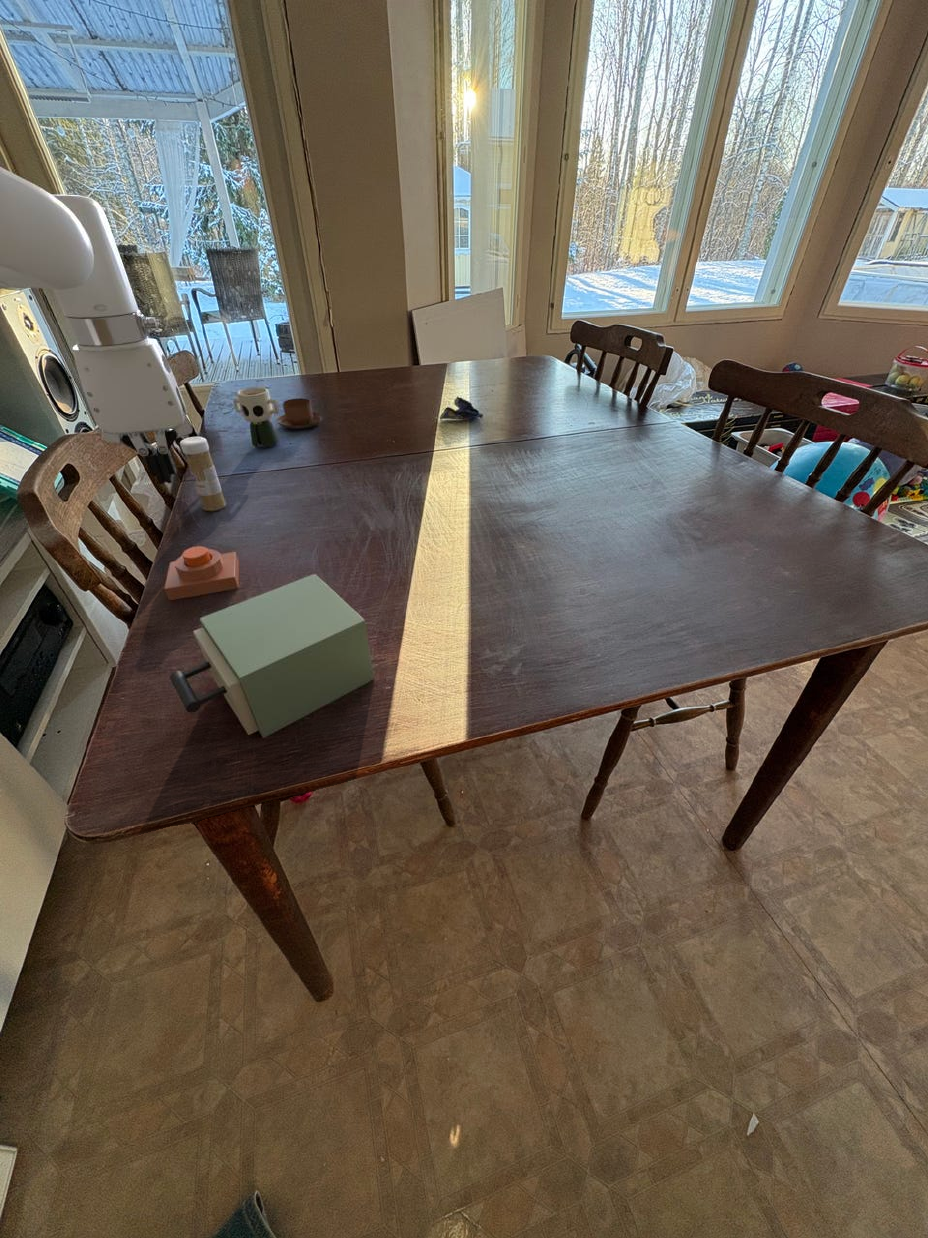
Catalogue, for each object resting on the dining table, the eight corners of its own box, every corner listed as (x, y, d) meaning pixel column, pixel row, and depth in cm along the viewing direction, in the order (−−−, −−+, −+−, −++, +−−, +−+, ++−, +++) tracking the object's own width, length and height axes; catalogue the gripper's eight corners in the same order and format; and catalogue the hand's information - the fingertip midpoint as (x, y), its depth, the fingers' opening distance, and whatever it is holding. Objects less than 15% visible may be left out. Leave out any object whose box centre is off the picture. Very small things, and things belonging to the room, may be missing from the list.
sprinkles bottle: (197, 509, 102) (173, 441, 93) (216, 500, 105) (194, 434, 97) (214, 513, 100) (190, 445, 92) (232, 504, 103) (211, 438, 95)
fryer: (263, 738, 57) (239, 678, 51) (223, 677, 65) (199, 618, 59) (374, 679, 65) (365, 620, 59) (327, 630, 72) (314, 573, 66)
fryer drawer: (210, 755, 55) (185, 706, 50) (178, 695, 61) (153, 646, 57) (355, 680, 63) (346, 631, 58) (313, 634, 70) (301, 587, 65)
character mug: (239, 449, 127) (223, 394, 119) (251, 439, 133) (236, 386, 124) (281, 451, 126) (269, 395, 118) (291, 440, 132) (280, 387, 124)
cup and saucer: (283, 419, 146) (278, 396, 142) (326, 418, 146) (322, 395, 142) (274, 433, 136) (268, 409, 133) (319, 432, 137) (315, 408, 133)
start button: (185, 569, 78) (181, 559, 77) (187, 557, 81) (183, 548, 80) (210, 565, 79) (206, 555, 78) (211, 553, 82) (208, 544, 80)
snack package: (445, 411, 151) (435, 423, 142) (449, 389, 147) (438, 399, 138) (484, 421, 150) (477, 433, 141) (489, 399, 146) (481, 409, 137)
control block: (169, 600, 78) (159, 579, 75) (174, 573, 84) (165, 552, 81) (238, 588, 80) (231, 567, 78) (239, 562, 86) (232, 541, 84)
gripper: (181, 322, 65) (224, 463, 76) (45, 329, 61) (112, 476, 72) (175, 332, 59) (223, 483, 70) (25, 341, 55) (101, 498, 67)
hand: (166, 479), depth 71 cm, fingers closed
